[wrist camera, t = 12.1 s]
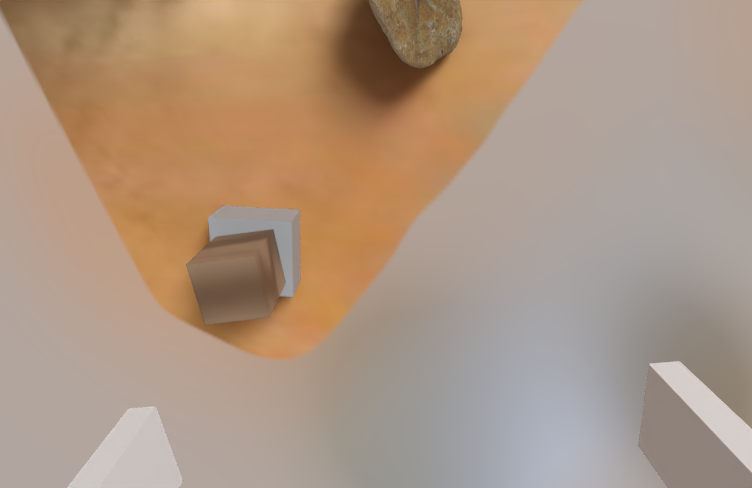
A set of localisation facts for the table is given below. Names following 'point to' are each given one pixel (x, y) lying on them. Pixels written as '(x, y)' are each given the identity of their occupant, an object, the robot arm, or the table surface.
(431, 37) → the fossil
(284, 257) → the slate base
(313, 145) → the table surface
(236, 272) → the walnut block
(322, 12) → the table surface
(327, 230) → the table surface
